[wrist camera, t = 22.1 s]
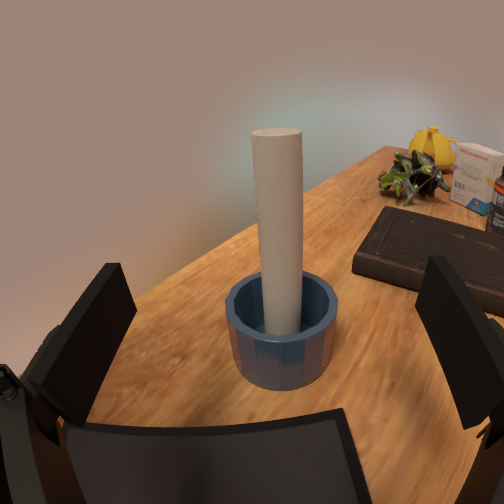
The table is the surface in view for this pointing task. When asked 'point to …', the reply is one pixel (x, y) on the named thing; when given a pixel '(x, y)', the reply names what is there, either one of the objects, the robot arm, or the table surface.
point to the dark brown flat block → (433, 243)
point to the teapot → (434, 147)
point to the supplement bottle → (497, 208)
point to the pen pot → (285, 346)
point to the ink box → (475, 176)
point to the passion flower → (414, 175)
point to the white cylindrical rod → (280, 225)
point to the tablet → (220, 463)
